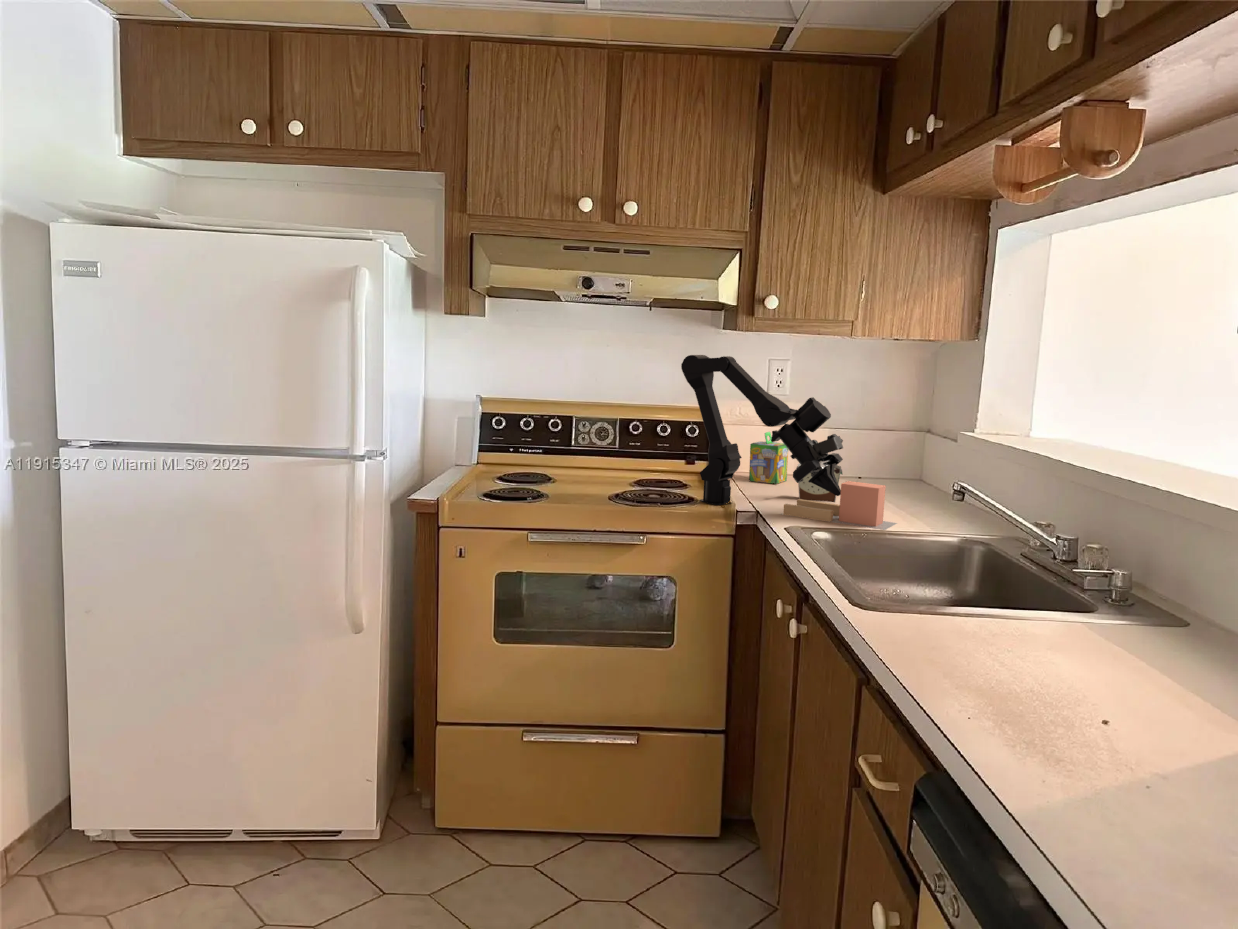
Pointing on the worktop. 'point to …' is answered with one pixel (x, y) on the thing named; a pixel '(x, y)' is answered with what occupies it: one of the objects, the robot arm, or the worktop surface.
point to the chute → (823, 513)
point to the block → (862, 503)
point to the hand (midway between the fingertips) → (839, 494)
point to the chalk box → (768, 461)
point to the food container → (817, 488)
